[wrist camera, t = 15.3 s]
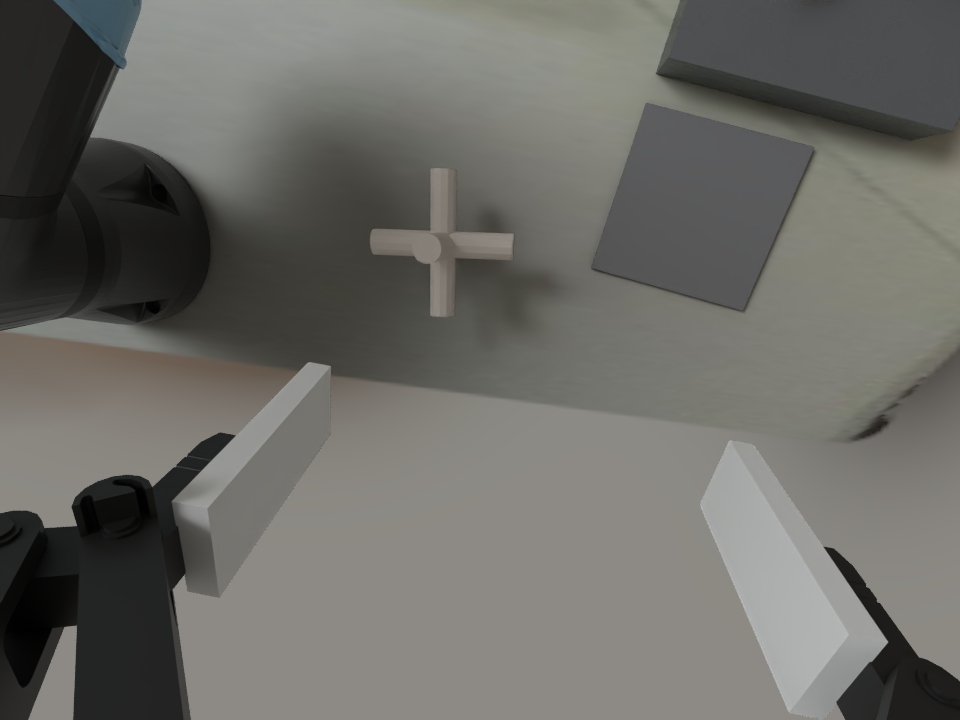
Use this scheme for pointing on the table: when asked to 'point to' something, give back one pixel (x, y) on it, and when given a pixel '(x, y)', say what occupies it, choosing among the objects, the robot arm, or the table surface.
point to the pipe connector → (442, 243)
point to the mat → (699, 205)
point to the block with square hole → (827, 58)
